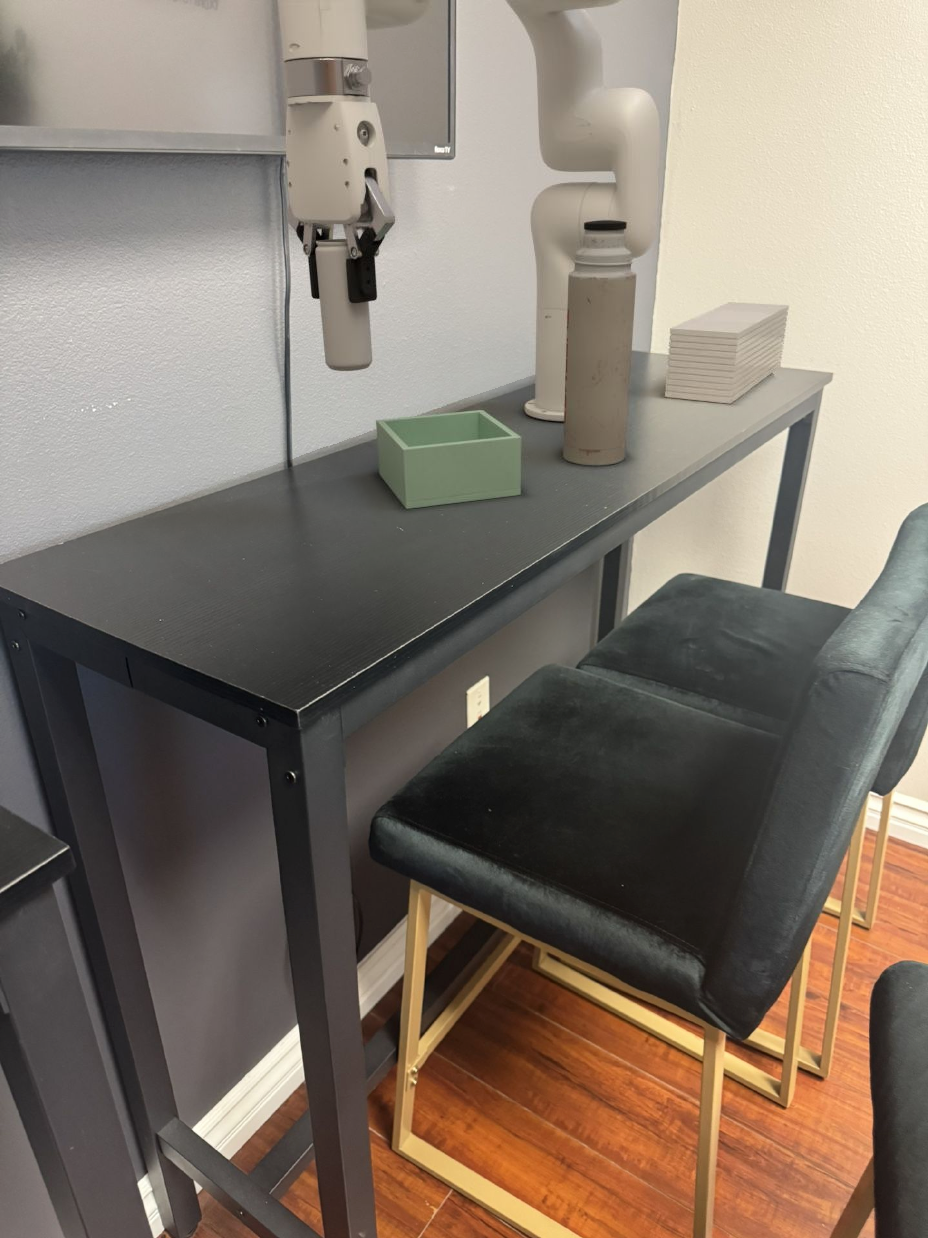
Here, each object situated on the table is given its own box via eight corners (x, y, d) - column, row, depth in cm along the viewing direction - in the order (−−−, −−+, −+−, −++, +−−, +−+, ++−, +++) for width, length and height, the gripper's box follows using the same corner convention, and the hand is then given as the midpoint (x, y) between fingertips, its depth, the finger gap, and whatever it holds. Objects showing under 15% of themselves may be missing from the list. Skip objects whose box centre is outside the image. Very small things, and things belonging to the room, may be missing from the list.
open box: (379, 474, 111) (375, 419, 108) (483, 462, 115) (482, 409, 112) (406, 509, 100) (403, 449, 96) (520, 495, 103) (521, 436, 100)
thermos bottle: (552, 460, 115) (558, 221, 102) (577, 445, 121) (586, 218, 108) (611, 469, 111) (625, 222, 99) (634, 452, 117) (649, 218, 105)
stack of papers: (730, 403, 140) (738, 332, 135) (664, 397, 145) (670, 327, 140) (780, 366, 164) (788, 305, 159) (722, 361, 169) (729, 301, 164)
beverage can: (329, 373, 89) (317, 243, 84) (322, 364, 93) (311, 239, 88) (376, 369, 90) (368, 240, 85) (368, 361, 95) (360, 237, 89)
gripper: (424, 81, 78) (431, 301, 86) (301, 94, 88) (318, 289, 97) (359, 77, 73) (374, 310, 81) (237, 91, 83) (261, 297, 92)
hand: (344, 297), depth 89 cm, fingers closed on beverage can, 4 cm apart
